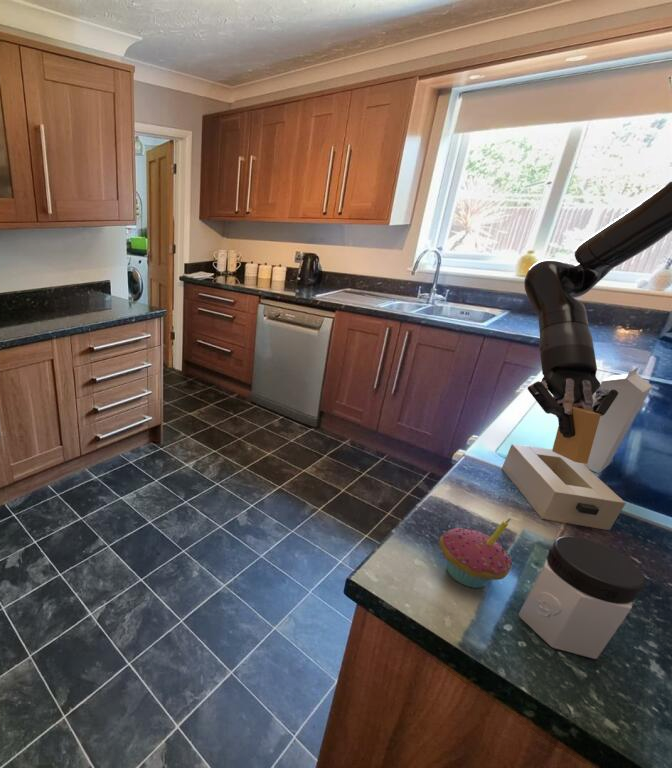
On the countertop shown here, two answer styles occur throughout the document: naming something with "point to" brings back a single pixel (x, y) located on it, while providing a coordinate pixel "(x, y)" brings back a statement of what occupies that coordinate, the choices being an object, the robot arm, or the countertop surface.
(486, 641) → the countertop surface
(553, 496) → the toaster
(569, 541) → the jar
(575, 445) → the toast
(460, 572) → the cupcake
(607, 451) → the milk
